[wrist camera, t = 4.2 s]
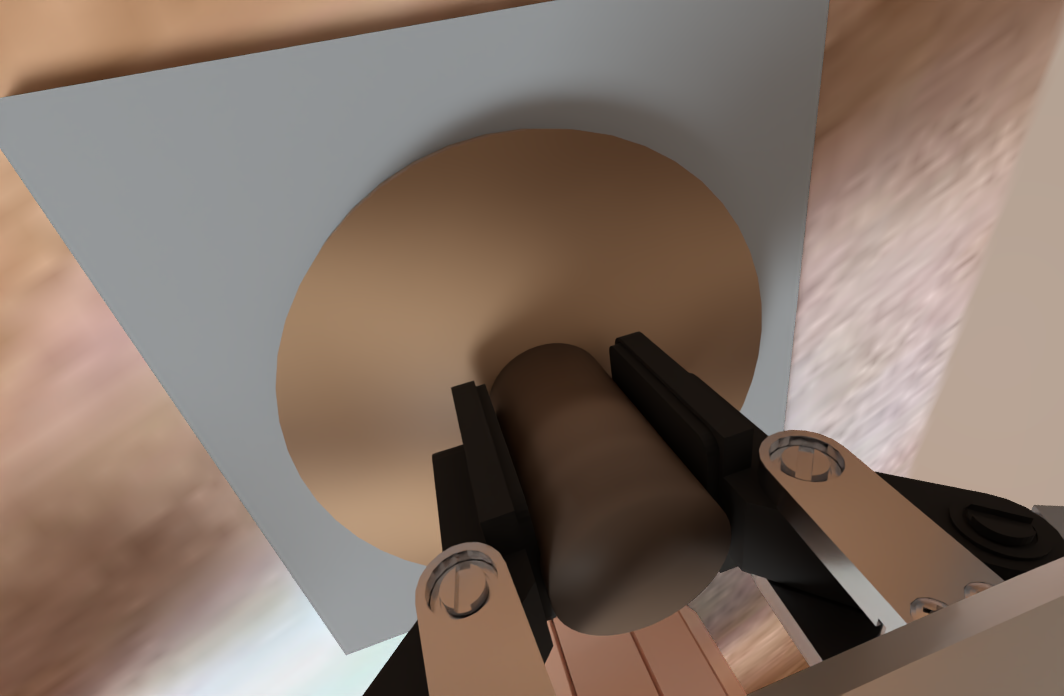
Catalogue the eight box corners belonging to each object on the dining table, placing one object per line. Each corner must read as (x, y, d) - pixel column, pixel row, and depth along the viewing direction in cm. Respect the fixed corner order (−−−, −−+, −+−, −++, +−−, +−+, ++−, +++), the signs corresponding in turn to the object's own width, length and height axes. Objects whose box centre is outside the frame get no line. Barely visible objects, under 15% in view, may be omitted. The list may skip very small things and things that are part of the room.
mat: (-3, 105, 8) (-31, 103, 7) (812, -41, 10) (834, -50, 10) (347, 637, 15) (345, 655, 15) (765, 483, 18) (776, 494, 17)
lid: (171, 205, 8) (-185, 339, 3) (745, 74, 10) (1111, 28, 5) (389, 595, 14) (386, 869, 9) (732, 470, 16) (895, 639, 11)
